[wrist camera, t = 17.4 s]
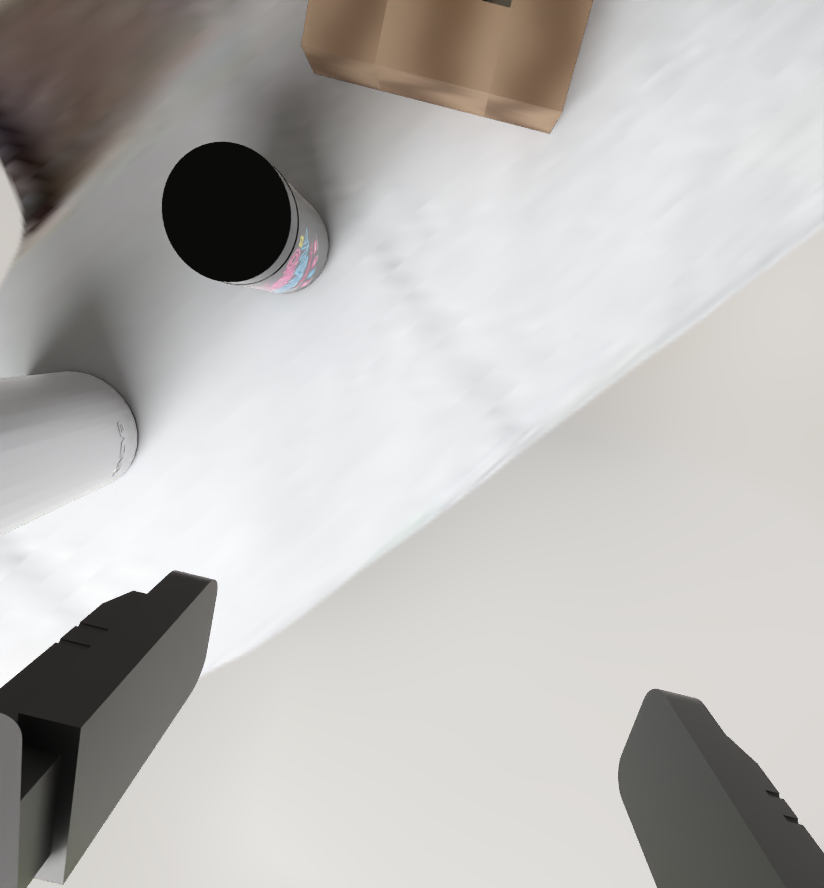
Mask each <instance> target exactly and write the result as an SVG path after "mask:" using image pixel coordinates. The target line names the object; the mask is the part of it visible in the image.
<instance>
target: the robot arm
mask: <svg viewBox="0 0 824 888" xmlns="http://www.w3.org/2000/svg"><path fill="white" fill-rule="evenodd" d="M136 448H137V429H136V424H135V420H134V417H133V415H132V413H131V410H130V408H129V407H128V405H127V404H126V402H125V400H124V399H123V398H122V396H121V395H120V394H119V393H118V392H117V391H116V390H115V389H114V388H113V387H111V386H110V385H109V384H107V383H106V382H104V381H103V380H101V379H99V378H97V377H95V376H92V375H90V374H86V373H82V372H74V371H64V372H55V373H46V374H38V375H29V376H19V377H11V378H2V379H0V535H3V534H5V533H7V532H9V531H11V530H13V529H15V528H17V527H19V526H21V525H24V524H26V523H28V522H30V521H32V520H34V519H36V518H38V517H40V516H42V515H45V514H47V513H49V512H51V511H53V510H55V509H57V508H59V507H61V506H63V505H65V504H68V503H70V502H72V501H74V500H76V499H78V498H80V497H83V496H85V495H87V494H89V493H91V492H93V491H95V490H97V489H99V488H101V487H103V486H106V485H108V484H110V483H112V482H114V481H115V480H116V479H118V478H119V477H121V476H122V475H123V474H124V472H125V471H126V470H127V469H128V468H129V466H130V464H131V462H132V461H133V459H134V456H135V452H136ZM216 596H217V582H216V580H213V579H209V578H205V577H201V576H197V575H192V574H188V573H184V572H180V571H176V570H175V571H172V572H171V573H169V574H168V575H167V576H166V577H165V578H164V579H163V580H162V581H161V582H159V583H158V584H157V585H156V586H155V587H154V588H153V589H152V590H151V591H150V592H149V593H148V594H145V593H140V592H136V591H132V592H129V593H127V594H124V595H122V596H120V597H117V598H115V599H112V600H110V601H108V602H105V603H103V604H102V605H100V606H99V607H98V608H97V609H96V610H94V611H93V612H92V613H91V614H90V615H88V616H87V617H86V618H85V619H84V620H82V621H81V622H80V624H79V626H78V627H77V626H75V627H74V628H73V629H71V630H70V631H69V632H68V633H67V634H65V635H64V636H63V637H62V638H61V639H60V642H59V643H55V644H53V645H52V646H51V647H50V648H49V649H47V650H46V651H45V652H44V653H42V654H41V655H40V656H39V657H38V658H36V659H35V660H34V661H33V662H32V663H30V664H29V665H28V666H27V667H26V668H24V669H23V670H22V671H21V672H20V673H18V674H17V675H16V676H15V677H14V678H12V679H11V680H10V681H9V682H8V683H6V684H5V685H4V686H3V687H1V688H0V888H27V886H28V885H29V883H30V882H31V881H32V879H33V878H35V879H39V880H43V881H48V882H52V883H57V884H60V885H63V884H64V882H65V881H66V879H67V878H68V876H69V875H70V874H71V872H72V870H73V869H74V867H75V866H76V864H77V863H78V862H79V860H80V858H81V857H82V855H83V854H84V852H85V851H86V850H87V848H88V847H89V845H90V843H91V842H92V840H93V839H94V838H95V836H96V834H97V833H98V832H99V830H100V829H101V827H102V826H103V824H104V823H105V821H106V820H107V818H108V816H109V815H110V814H111V812H112V811H113V809H114V808H115V806H116V805H117V803H118V802H119V800H120V799H121V797H122V796H123V794H124V793H125V791H126V790H127V788H128V786H129V785H130V784H131V782H132V781H133V779H134V778H135V776H136V775H137V773H138V772H139V770H140V769H141V767H142V766H143V764H144V763H145V761H146V760H147V758H148V756H149V755H150V754H151V752H152V751H153V749H154V748H155V746H156V744H157V743H158V742H159V740H160V739H161V737H162V736H163V734H164V732H165V731H166V730H167V728H168V727H169V725H170V724H171V722H172V721H173V719H174V718H175V716H176V715H177V713H178V711H179V710H180V709H181V707H182V706H183V704H184V703H185V701H186V700H187V698H188V697H189V695H190V694H191V692H192V690H193V689H194V687H195V685H196V683H197V681H198V678H199V676H200V673H201V671H202V668H203V665H204V661H205V658H206V653H207V647H208V642H209V636H210V630H211V624H212V619H213V613H214V607H215V601H216ZM618 781H619V790H620V794H621V797H622V800H623V803H624V805H625V808H626V810H627V813H628V815H629V818H630V820H631V823H632V825H633V828H634V830H635V833H636V836H637V838H638V840H639V843H640V846H641V848H642V851H643V853H644V856H645V858H646V861H647V863H648V865H649V868H650V871H651V873H652V876H653V878H654V880H655V883H656V886H657V888H824V853H823V852H822V850H821V849H820V848H819V846H818V845H817V844H816V842H815V841H814V839H813V838H812V837H811V836H810V834H809V833H808V831H807V830H806V829H805V827H804V826H803V825H800V824H798V818H797V817H796V815H795V814H794V812H793V811H792V810H791V808H790V807H789V806H788V805H787V803H786V802H785V800H784V799H780V798H779V792H778V791H777V790H776V788H775V787H774V786H773V784H772V783H771V781H770V780H769V779H768V778H767V776H766V775H765V773H764V772H763V771H762V769H761V768H760V767H759V765H758V764H757V763H756V762H755V761H754V760H753V759H752V758H751V757H749V756H748V755H747V754H746V753H745V752H744V751H743V750H742V749H741V748H739V746H738V745H736V744H735V743H734V742H733V741H732V740H731V739H730V738H729V737H727V736H726V735H725V733H724V732H723V730H722V729H721V728H720V726H719V725H718V723H717V722H716V721H715V719H714V718H713V716H712V715H711V714H710V712H709V711H708V709H707V708H706V707H705V705H704V704H703V703H702V702H701V701H700V700H698V699H696V698H692V697H688V696H684V695H680V694H676V693H672V692H667V691H664V690H659V689H652V690H651V691H649V692H648V693H647V695H646V696H645V698H644V700H643V703H642V705H641V708H640V710H639V713H638V715H637V718H636V720H635V723H634V725H633V728H632V730H631V733H630V735H629V738H628V740H627V743H626V745H625V748H624V750H623V753H622V755H621V758H620V763H619V771H618Z"/></svg>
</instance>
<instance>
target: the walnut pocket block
mask: <svg viewBox="0 0 824 888" xmlns="http://www.w3.org/2000/svg"><path fill="white" fill-rule="evenodd" d="M592 3H593V0H491V1H490V2H486V1H482V0H309V1H308V7H307V13H306V19H305V25H304V31H303V37H302V43H301V46H302V48H303V50H304V53H305V55H306V57H307V59H308V61H309V63H310V65H311V67H312V69H313V72H314V74H318V75H322V76H326V77H330V78H334V79H338V80H342V81H346V82H350V83H353V84H357V85H361V86H365V87H369V88H373V89H377V90H381V91H385V92H389V93H393V94H396V95H400V96H404V97H408V98H412V99H416V100H420V101H424V102H428V103H432V104H436V105H440V106H443V107H447V108H451V109H455V110H459V111H463V112H467V113H471V114H475V115H479V116H483V117H486V118H490V119H494V120H498V121H502V122H506V123H510V124H514V125H518V126H522V127H526V128H529V129H533V130H537V131H541V132H545V133H549V134H550V132H551V130H552V129H553V127H554V125H555V123H556V122H557V120H558V118H559V117H560V115H561V113H562V111H563V107H564V104H565V100H566V97H567V93H568V89H569V86H570V82H571V78H572V75H573V71H574V68H575V64H576V60H577V57H578V53H579V50H580V46H581V42H582V39H583V35H584V31H585V28H586V24H587V21H588V17H589V13H590V10H591V6H592Z"/></svg>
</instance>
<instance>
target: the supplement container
mask: <svg viewBox="0 0 824 888" xmlns="http://www.w3.org/2000/svg"><path fill="white" fill-rule="evenodd" d="M162 216H163V222H164V227H165V230H166V233H167V236H168V238H169V241H170V243H171V245H172V246H173V248H174V250H175V251H176V253H177V254H178V255H179V257H180V258H181V259H182V260H183V261H184V262H185V263H186V264H187V265H188V266H189V267H191V268H192V269H193V270H195V271H196V272H198V273H199V274H201V275H203V276H205V277H207V278H210V279H213V280H217V281H221V282H224V283H227V284H232V285H242V286H246V287H250V288H255V289H259V290H264V291H268V292H273V293H279V294H289V293H294V292H298V291H300V290H303V289H304V288H306V287H308V286H309V285H311V284H312V283H313V282H314V281H315V280H316V279H317V278H318V276H319V275H320V274H321V272H322V270H323V268H324V266H325V264H326V261H327V257H328V250H329V242H328V234H327V231H326V227H325V225H324V222H323V220H322V218H321V217H320V215H319V214H318V212H317V211H316V210H315V209H314V208H313V207H312V206H311V205H310V204H309V203H308V202H307V201H306V200H305V199H304V198H303V197H302V196H301V195H300V194H299V193H298V192H297V191H296V190H295V189H294V188H293V187H292V186H291V185H290V184H289V183H288V182H287V181H286V179H285V178H284V177H283V175H282V174H281V173H280V172H279V171H278V170H277V169H276V168H275V167H274V166H272V165H271V164H270V163H269V162H268V161H267V160H266V159H265V158H264V157H262V156H261V155H260V154H258V153H257V152H255V151H254V150H252V149H250V148H248V147H245V146H243V145H240V144H236V143H231V142H214V143H208V144H205V145H202V146H199V147H197V148H195V149H193V150H192V151H190V152H189V153H187V154H186V155H185V156H184V157H183V158H181V159H180V161H179V162H178V163H177V164H176V165H175V167H174V168H173V170H172V171H171V173H170V175H169V177H168V179H167V182H166V185H165V188H164V192H163V198H162Z"/></svg>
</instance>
